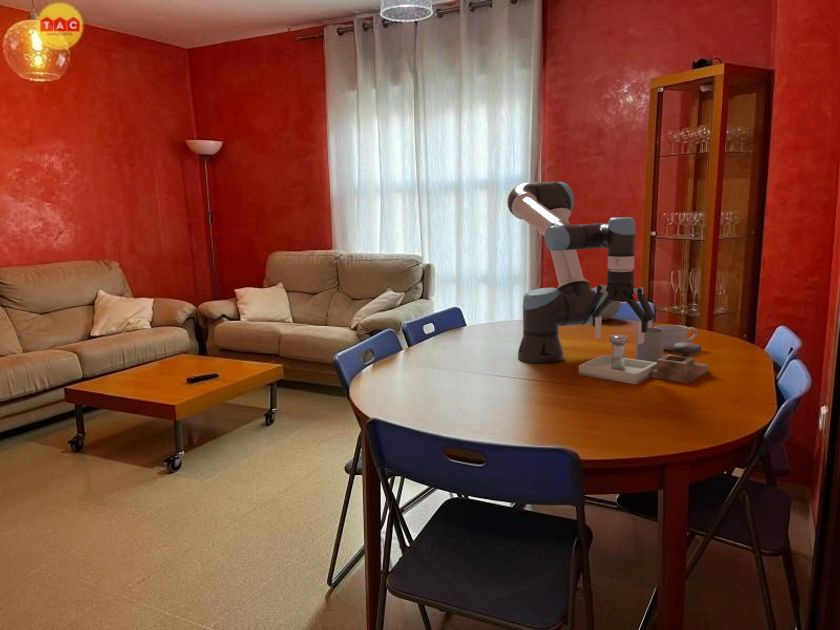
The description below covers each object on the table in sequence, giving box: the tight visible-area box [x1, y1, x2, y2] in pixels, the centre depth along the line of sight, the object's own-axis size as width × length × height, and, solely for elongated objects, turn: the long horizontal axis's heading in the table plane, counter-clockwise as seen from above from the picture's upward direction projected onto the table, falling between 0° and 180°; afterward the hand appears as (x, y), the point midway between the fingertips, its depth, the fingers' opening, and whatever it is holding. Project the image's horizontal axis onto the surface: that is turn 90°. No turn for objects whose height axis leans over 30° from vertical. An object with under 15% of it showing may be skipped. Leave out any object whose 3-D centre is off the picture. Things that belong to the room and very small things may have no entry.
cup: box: [635, 327, 665, 362], centre depth 207 cm, size 8×8×10 cm
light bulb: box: [609, 334, 629, 371], centre depth 192 cm, size 5×5×10 cm
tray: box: [578, 354, 657, 385], centre depth 193 cm, size 18×16×3 cm
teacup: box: [654, 324, 698, 351], centre depth 221 cm, size 14×11×8 cm
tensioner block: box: [650, 342, 709, 384], centre depth 190 cm, size 11×17×8 cm, turn 138°
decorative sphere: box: [592, 286, 621, 321], centre depth 276 cm, size 15×15×15 cm
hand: (619, 340), depth 191 cm, fingers open, 13 cm apart
